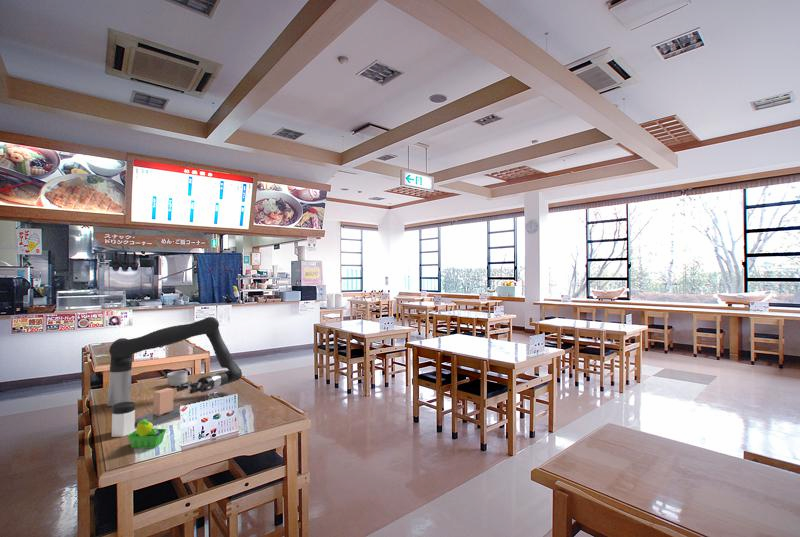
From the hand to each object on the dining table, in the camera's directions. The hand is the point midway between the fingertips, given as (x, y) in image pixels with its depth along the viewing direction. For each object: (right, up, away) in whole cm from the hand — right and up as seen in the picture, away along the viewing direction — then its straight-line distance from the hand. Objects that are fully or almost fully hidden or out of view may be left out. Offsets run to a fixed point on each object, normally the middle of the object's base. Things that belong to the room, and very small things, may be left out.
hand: (183, 390), depth 196 cm
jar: (-10, -10, -28) cm, 31 cm away
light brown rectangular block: (-4, -10, -11) cm, 15 cm away
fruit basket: (+7, -10, -40) cm, 41 cm away
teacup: (-27, -10, +44) cm, 52 cm away
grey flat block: (-4, -10, -11) cm, 15 cm away
